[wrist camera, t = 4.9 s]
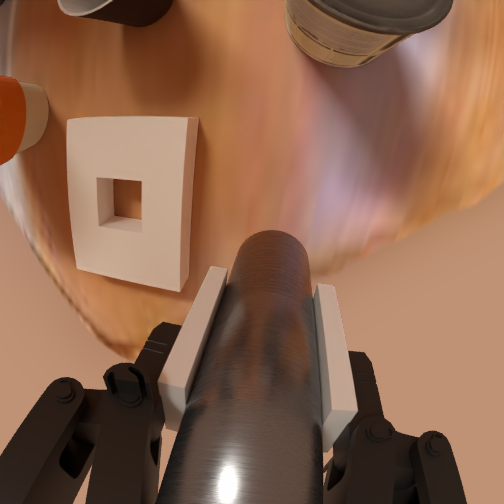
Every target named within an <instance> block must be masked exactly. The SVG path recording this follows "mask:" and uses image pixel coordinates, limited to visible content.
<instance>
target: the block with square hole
mask: <svg viewBox="0 0 504 504" xmlns="http://www.w3.org/2000/svg"><path fill="white" fill-rule="evenodd" d="M198 124H199V118H197V117H179V116H96V117H82V118H73V119H67V183H68V199H69V211H70V221H71V230H72V238H73V246H74V253H75V259H76V265H77V269H79V270H83V271H87V272H91V273H95V274H100V275H104V276H108V277H112V278H116V279H121V280H125V281H130V282H134V283H139V284H143V285H148V286H152V287H157V288H162V289H167V290H172V291H177V292H180V291H181V289H182V288H183V286H184V284H185V282H186V281H187V279H188V277H189V261H190V234H191V214H192V197H193V182H194V168H195V156H196V145H197V134H198ZM113 179H125V180H136V181H142V220H140V219H133V218H127V217H120V216H114V191H113Z"/></svg>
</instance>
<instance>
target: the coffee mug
mask: <svg viewBox="0 0 504 504" xmlns="http://www.w3.org/2000/svg"><path fill="white" fill-rule="evenodd" d="M57 1H58V6H59V7H60V9H61V10H62V11H63V12H64V13H65V14H67V15H70V16H77V17H84V18H91V19H98V20H104V21H109V22H114V23H119V24H124V25H129V26H134V27H143V26H147V25H150V24H152V23H154V22H156V21H157V20H159V19H160V18H161V17H163V16H164V15H165V14H166V12H167V11H168V10H169V8H170V6H171V5H172V2H173V0H57Z"/></svg>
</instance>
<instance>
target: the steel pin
mask: <svg viewBox="0 0 504 504" xmlns="http://www.w3.org/2000/svg"><path fill="white" fill-rule="evenodd" d="M155 504H323V440H322V415H321V395H320V379H319V365H318V351H317V339H316V328H315V317H314V307H313V297H312V288H311V279H310V270H309V262H308V256H307V253H306V250H305V248H304V247H303V245H302V244H301V243H300V242H299V241H298V240H297V239H296V238H295V237H293V236H291V235H289V234H287V233H285V232H281V231H275V230H267V231H262V232H258V233H256V234H254V235H252V236H250V237H249V238H248V239H246V240H245V241H244V243H243V244H242V245H241V247H240V249H239V251H238V254H237V256H236V259H235V262H234V265H233V268H232V271H231V274H230V277H229V280H228V283H227V285H226V288H225V291H224V294H223V297H222V300H221V303H220V306H219V309H218V312H217V315H216V318H215V321H214V324H213V327H212V330H211V333H210V336H209V339H208V342H207V345H206V347H205V350H204V353H203V356H202V359H201V362H200V365H199V368H198V372H197V375H196V378H195V381H194V384H193V387H192V390H191V393H190V396H189V399H188V402H187V405H186V408H185V411H184V414H183V417H182V420H181V423H180V426H179V430H178V433H177V436H176V439H175V442H174V445H173V448H172V451H171V455H170V458H169V461H168V464H167V467H166V470H165V473H164V477H163V480H162V483H161V486H160V489H159V493H158V496H157V499H156V502H155Z"/></svg>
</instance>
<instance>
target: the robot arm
mask: <svg viewBox="0 0 504 504" xmlns="http://www.w3.org/2000/svg"><path fill="white" fill-rule="evenodd" d="M3 1H4V0H0V5H1V4H2V2H3ZM227 272H228V269H227V268H221V267H215V266H210V268H209V270H208V273H207V275H206V277H205V279H204V281H203V283H202V285H201V287H200V289H199V291H198V294H197V296H196V298H195V300H194V302H193V304H192V306H191V308H190V311H189V313H188V315H187V317H186V319H185V321H184V324H183V326H180V325H175V324H171V323H166V322H162V323H161V324H160V325H158V326H157V327H156V328H154V329H153V331H152V332H151V334H150V336H149V338H148V341H146V343H145V345H144V347H143V349H142V350H141V352H140V354H139V356H138V358H137V360H136V361H135V363H134V364H133V363H119V364H116V365H113V366H112V367H110V368H109V369H108V370H107V371H106V373H105V374H104V376H103V378H104V381H105V384H106V387H107V390H96V389H95V390H94V389H84V388H83V387H82V385H81V383H80V382H79V381H77V380H76V379H73V378H69V377H64V378H59V379H57V380H54V381H53V382H52V383H51V384H50V385H49V386H48V387H47V389H46V390H45V391H44V393H43V394H42V395H41V397H40V398H39V400H38V401H37V402H36V404H35V405H34V407H33V408H32V409H31V411H30V412H29V414H28V415H27V417H26V418H25V419H24V421H23V422H22V424H21V425H20V427H19V428H18V430H17V431H16V433H15V434H14V436H13V437H12V439H11V440H10V442H9V443H8V445H7V447H6V448H5V449H4V451H3V453H2V454H1V456H0V504H73V502H74V500H75V498H76V496H77V494H78V492H79V490H80V487H81V486H82V483H83V482H84V479H85V478H86V475H87V474H88V471H89V470H90V468H91V466H92V469H91V474H90V479H89V485H88V491H87V497H86V503H85V504H155V502H156V499H157V496H158V483H159V468H160V456H161V445H162V437H161V431H162V428H163V426H164V423H165V425H166V429H170V430H173V431H177V432H178V430H179V426H180V423H181V420H182V417H183V414H184V411H185V408H186V405H187V402H188V399H189V396H190V393H191V390H192V387H193V384H194V381H195V378H196V375H197V372H198V368H199V365H200V362H201V359H202V356H203V353H204V350H205V347H206V345H207V342H208V339H209V336H210V333H211V330H212V327H213V324H214V321H215V318H216V315H217V312H218V309H219V306H220V303H221V300H222V297H223V294H224V291H225V288H226V282H227ZM313 307H314V317H315V328H316V339H317V351H318V365H319V379H320V395H321V415H322V440H323V452H328V451H329V450H330V449H331V447H332V446H333V457H332V458H331V459H330V461H329V462H328V463H327V464H326V465H325V467H324V468H323V473H325V472H326V470H327V473H326V478H325V483H324V487H323V504H467V502H466V498H465V494H464V490H463V486H462V482H461V479H460V475H459V471H458V468H457V465H456V462H455V458H454V455H453V452H452V449H451V445H450V443H449V441H448V439H447V438H446V437H445V436H444V435H443V434H442V433H440V432H437V431H428V432H425V433H423V434H422V435H421V436H420V437H414V436H410V435H406V434H402V433H399V432H397V431H395V428H394V427H393V426H392V424H391V423H390V422H389V421H387V420H386V419H385V418H384V415H383V410H382V405H381V401H380V396H379V392H378V388H377V384H376V379H375V375H374V370H373V367H372V362H371V361H370V360H369V358H368V357H367V356H366V354H365V353H364V352H354V351H348V349H347V344H346V338H345V333H344V329H343V324H342V319H341V314H340V309H339V305H338V300H337V296H336V291H335V287H334V285H327V284H320V283H318V284H317V287H316V291H315V294H314V298H313Z"/></svg>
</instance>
